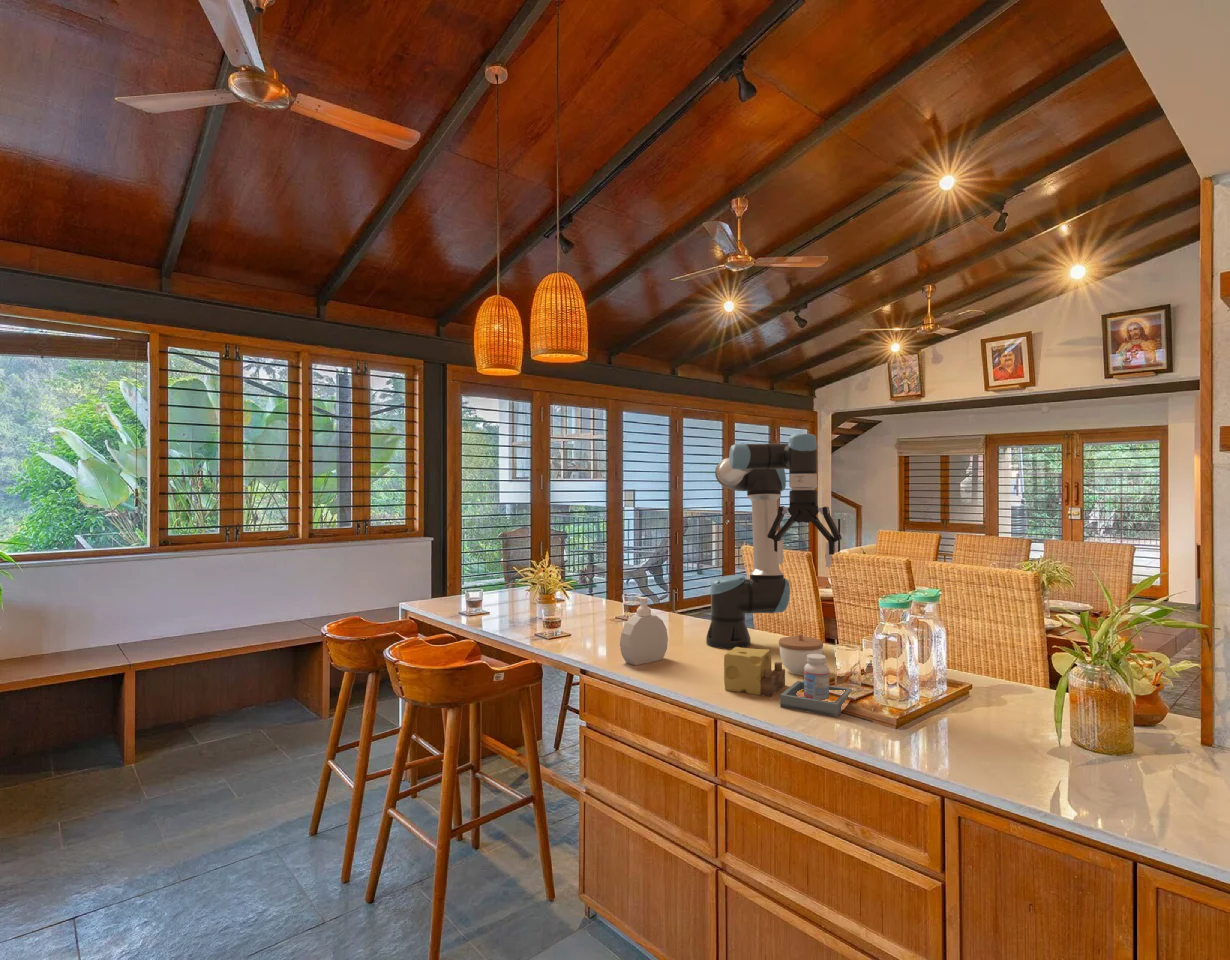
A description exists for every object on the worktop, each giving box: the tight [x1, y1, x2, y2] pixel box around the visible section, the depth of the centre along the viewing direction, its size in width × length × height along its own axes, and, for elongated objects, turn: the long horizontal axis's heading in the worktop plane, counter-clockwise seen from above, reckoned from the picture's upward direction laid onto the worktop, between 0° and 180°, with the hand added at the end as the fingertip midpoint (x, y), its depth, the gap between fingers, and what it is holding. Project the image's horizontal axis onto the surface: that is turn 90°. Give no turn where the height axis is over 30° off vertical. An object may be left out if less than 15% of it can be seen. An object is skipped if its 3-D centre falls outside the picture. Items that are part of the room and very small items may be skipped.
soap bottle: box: [619, 596, 669, 666], centre depth 211 cm, size 16×5×20 cm, turn 127°
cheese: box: [723, 647, 772, 696], centre depth 183 cm, size 10×11×10 cm
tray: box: [779, 680, 853, 718], centre depth 169 cm, size 14×14×3 cm
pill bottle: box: [803, 654, 830, 700], centre depth 169 cm, size 6×6×11 cm
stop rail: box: [760, 661, 786, 698], centre depth 180 cm, size 12×2×6 cm, turn 147°
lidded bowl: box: [778, 633, 824, 676], centre depth 197 cm, size 13×13×11 cm
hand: (804, 565), depth 188 cm, fingers open, 13 cm apart
